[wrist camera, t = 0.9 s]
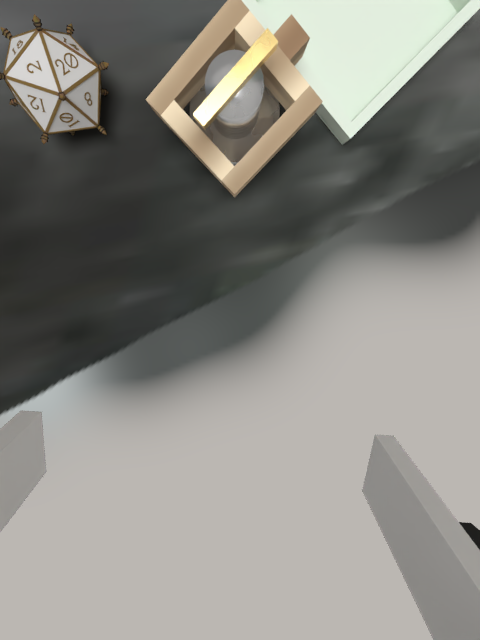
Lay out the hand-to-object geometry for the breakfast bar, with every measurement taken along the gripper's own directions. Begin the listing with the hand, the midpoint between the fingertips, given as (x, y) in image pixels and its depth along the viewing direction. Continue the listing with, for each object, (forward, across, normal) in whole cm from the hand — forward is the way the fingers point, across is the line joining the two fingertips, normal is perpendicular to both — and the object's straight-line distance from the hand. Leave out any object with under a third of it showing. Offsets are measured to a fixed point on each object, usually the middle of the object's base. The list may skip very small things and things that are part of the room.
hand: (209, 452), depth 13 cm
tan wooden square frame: (+21, 0, +18) cm, 27 cm away
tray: (+25, +9, +28) cm, 39 cm away
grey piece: (+25, 0, +18) cm, 31 cm away
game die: (+26, -15, +19) cm, 35 cm away
